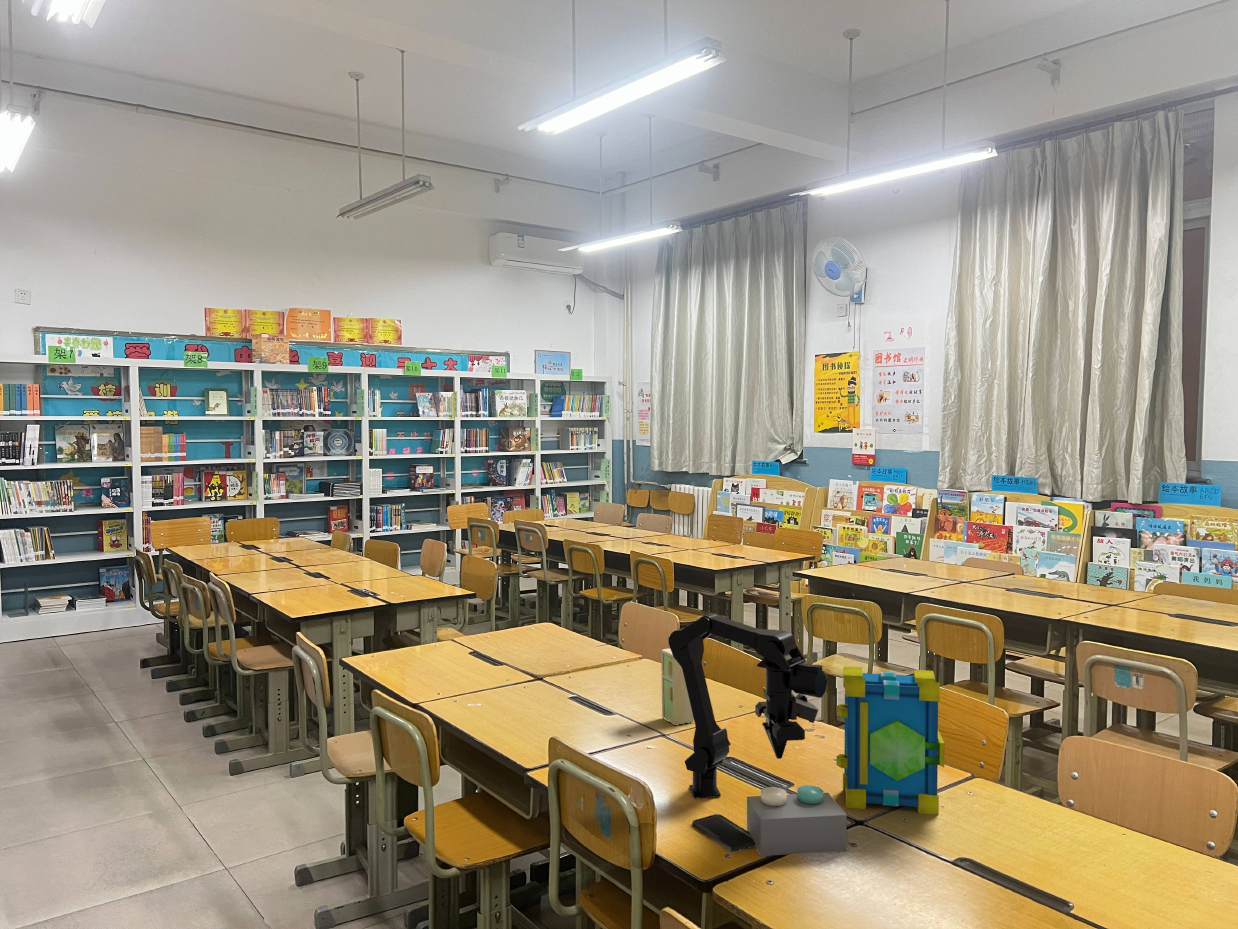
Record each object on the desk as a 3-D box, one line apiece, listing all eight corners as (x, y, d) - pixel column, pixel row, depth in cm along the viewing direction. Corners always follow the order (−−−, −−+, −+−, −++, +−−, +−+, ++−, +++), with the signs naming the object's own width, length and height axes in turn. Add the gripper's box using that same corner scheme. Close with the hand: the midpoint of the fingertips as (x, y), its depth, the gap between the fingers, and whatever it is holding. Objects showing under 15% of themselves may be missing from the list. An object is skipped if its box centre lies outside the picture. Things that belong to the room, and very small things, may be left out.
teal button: (793, 807, 186) (793, 786, 186) (818, 806, 187) (818, 784, 187) (801, 819, 181) (801, 796, 181) (826, 817, 181) (826, 795, 181)
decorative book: (945, 819, 191) (946, 685, 189) (837, 811, 195) (838, 680, 194) (934, 793, 205) (935, 668, 203) (834, 785, 209) (835, 663, 208)
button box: (746, 831, 186) (746, 796, 185) (827, 826, 188) (828, 792, 187) (760, 856, 175) (760, 819, 174) (846, 851, 177) (846, 815, 176)
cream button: (757, 809, 185) (757, 787, 185) (782, 808, 186) (782, 786, 186) (764, 821, 180) (764, 798, 180) (789, 819, 181) (789, 797, 180)
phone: (718, 813, 193) (762, 840, 180) (718, 818, 193) (762, 845, 180) (689, 821, 189) (731, 849, 176) (689, 826, 189) (731, 855, 176)
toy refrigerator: (659, 718, 258) (658, 649, 258) (680, 715, 262) (680, 646, 261) (671, 726, 251) (671, 655, 250) (693, 723, 254) (693, 652, 254)
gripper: (828, 700, 183) (828, 773, 184) (801, 676, 202) (801, 741, 203) (777, 702, 182) (777, 775, 183) (754, 677, 201) (754, 743, 201)
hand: (779, 758), depth 193 cm, fingers closed
